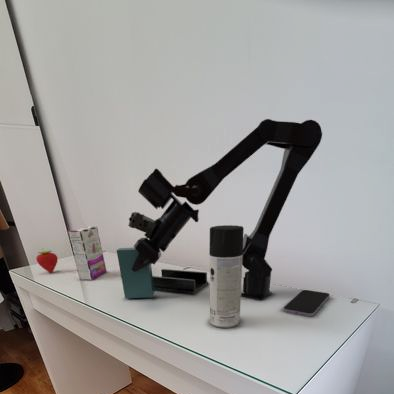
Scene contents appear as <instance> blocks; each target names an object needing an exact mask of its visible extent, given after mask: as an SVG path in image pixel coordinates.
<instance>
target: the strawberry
mask: <svg viewBox="0 0 394 394" xmlns="http://www.w3.org/2000/svg"><path fill="white" fill-rule="evenodd" d="M36 262H37V264H38V265H39V266H40V267H41V268H42V269H43V270H45V271H47V273H49V274H50V273H53V272H54V270H55V268H56V266H57V264H58V256H57V254H56V253H54V252H52V250H44V248H42V250H41V251H38V255H37V256H36Z"/></svg>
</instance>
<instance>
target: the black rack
mask: <svg viewBox="0 0 394 394" xmlns="http://www.w3.org/2000/svg"><path fill="white" fill-rule="evenodd" d="M160 271H161V276H159V275H153V283H154V291H155V292H163V293H172V294H181V295H191V296H194V295H196V294H197V293H198V292H200V291H201V290H203V289H204V288H205V287H207V286H208V285H209V280H208V272H206V271H194V270H181V269H168V268H162V269H160Z"/></svg>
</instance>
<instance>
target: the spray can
mask: <svg viewBox="0 0 394 394" xmlns="http://www.w3.org/2000/svg"><path fill="white" fill-rule="evenodd" d="M244 230H245V229H244V226H242V225H233V224H232V225H231V224H230V225H225V224H224V225H215V226H211V227H210V228H209V250H208V251H209V253H208V254H209V322H210V324H211V325H212V326H213V327H215V328H219V329H230V328H235V327H236V326H237V325H238V324H239V323H240V321H241V300H242V296H241V294H242V282H243V279H242V278H243V275H242V274H243V265H242V259H243V238H244Z"/></svg>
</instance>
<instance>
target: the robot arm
mask: <svg viewBox="0 0 394 394" xmlns="http://www.w3.org/2000/svg"><path fill="white" fill-rule="evenodd" d="M322 138H323V131H322V127H321V125H320V124H319V122H317V121H316V120H315V119H306V120H304V121H302V122H294V121H282V120H281V121H280V120H279V121H278V120H274V119H273V120H272V119H271V118H266V119H263V120H261V121H260V123H258V125H257V127H256V128H254V129H253V130H251V132H250V133H248V135H246V136H245V137H244V138H243V139H241V140H240V141H239V142H238V143H237V144H236V145H235V146H233V147H232V148H231V149H230V150H229V151H228V152H227V153H225V155H223V156H222V157H221V158H220V159H219V160H218V161H216V162H215V163H213V164H212V165H210V166H209V167H207V168H204V169H203V170H201V171H200V172H198V173H196V174H195V175H192V176H191V177H189V178H188V179H187V180H186V182H185V183H184V184H175V185H173V184H172V183H171V182H170V181H169V180H168V179H167V177H165V176H164V174H163V173H162V171H161V170H160V169H159V168H154V170H153V171H152V172H151V173H150V174H149V175H148V177H147V178H144V180H142V183H141V184H140V187H139V188H138V191H137V192H138V193H139V194H140V195H141V196H142V197H143V198H144V199H145V200H146V201H147V202H148V203H149V204H150V205H151V206H152V207H153V208H154V209H155V210H158V209H160V208H161V209H162V210H164V209H165V207H167V205H168V204H169V203H170V201H171V200H172V201H171V203H170V204H169V205H168V207H167V208H166V209H165V211H164V212H163V213H162V214H161V215H160V217H158V218H156V219H152V218H151V217H149V216H146V215H145V214H143V213H140V212H138V211H134V212H131V215H130V217H129V218H128V220H129V222H128V227H129V228H131V229H134V230H135V229H136V230H137V231H140V232H142V233H144V234H143V235H144V237H140V238H139V239H137V240H136V242H135V244H133V248H135V249H136V250H137V251H138V252H139V253H138V256H137V258H136V261H135V263H134V265H133V267H132V271H134V272H136V271H138V270H140V269H142V268H144V267H146V266H148V265H150V264H151V265H155V264H156V263H157V262H158V261H159V259H161V257H162V252H163V253H164V252H165V251H166V250H167V249H168V248H169V245H171V243H172V242H173V240H174V239H175V238H176V237H177V236H178V234H179V233H180V232H181V231H182V229H183V228H184V227H185V226H186V224H188V222H189V221H190V220H191V219H192V220H193V221H194V222H195V223H198V222H199V220H200V218H199V213H200V209H198V208H197V209H194V208H193V207H192V206H191V205H196V206H198V205H201V204H203V203H204V202H205V201H206V200H208V198H209V197H210V196H211V194H212V193H213V192H214V191H215V190H216V189H217V187H218V186H219V185H220V184H221V182H223V180H224V179H225V178H226V177H227V176H229V175H230V174H231V173H232V172H233V171H235V170H236V169H237V168H238V167H240V166H241V165H242V164H243V163H244V162H245V161H247V160H248V159H249V158H250V157H252V156H253V155H254V154H255V153H256V152H258V150H260V149H261V148H262V147H263V146H266V145H267V146H271V147H275V148H279V149H282V150H284V151H283V153H282V154H283V155H282V161H281V166H280V169H279V172H278V174H277V176H276V179H275V181H274V183H273V186H272V188H271V190H270V193H269V194H268V197H267V200H266V202H265V204H264V207H263V209H262V211H261V214H260V216H259V218H258V221H257V223H256V225H255V227H254V229H253V231H252V232H251V233H250V235H248V234H247V233H243V259H242V267H243V268H244V269H245V270H247V271H245V272H244V276H243V277H242V278H243V279H242V291H243V292H241V297H245V298H248V299H249V298H250V299H254V300H259V301H262V300H264V299H266V298H267V297H269V296H271V295H272V294H273V292H272V291H270V290H271V278H272V271H273V268H272V267H271V265H270V263H269V262H268V261H267V260H266V259H265V258H266V255H267V251H268V246H269V242H270V241H269V240H270V237H271V234H272V232H273V229H274V227H275V225H276V223H277V221H278V219H279V216H280V214H281V212H282V210H283V208H284V206H285V203H286V202H287V199H288V197H289V195H290V193H291V190H292V189H293V186H294V184H295V182H296V180H297V177H298V176H299V174H300V172H301V171H302V170H303V168H304V167H305V166H306V165H307V163H308V162H309V161H310V159H311V158H312V156H314V155H313V154H314V153H315V151H316V150H317V148H318V147H319V146H320V144H321V141H322ZM177 197H178V198H184V199H186V201H184V202H181V201H180V199H178V198H177ZM189 203H190V204H191V205H190V204H189Z"/></svg>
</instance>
